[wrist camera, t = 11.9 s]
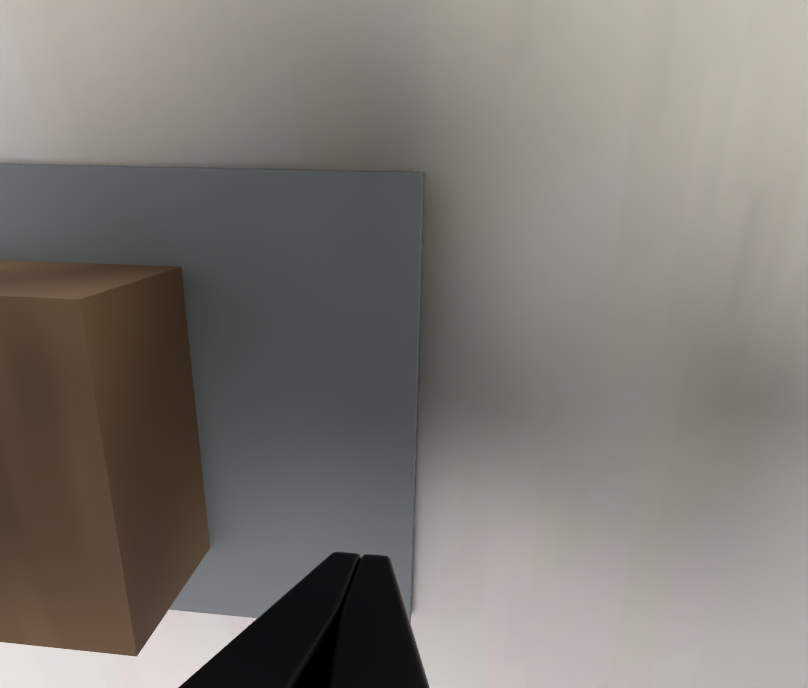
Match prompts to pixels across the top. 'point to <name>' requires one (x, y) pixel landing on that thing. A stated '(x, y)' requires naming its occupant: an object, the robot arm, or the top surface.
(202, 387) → the mat
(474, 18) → the top surface
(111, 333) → the walnut slab
